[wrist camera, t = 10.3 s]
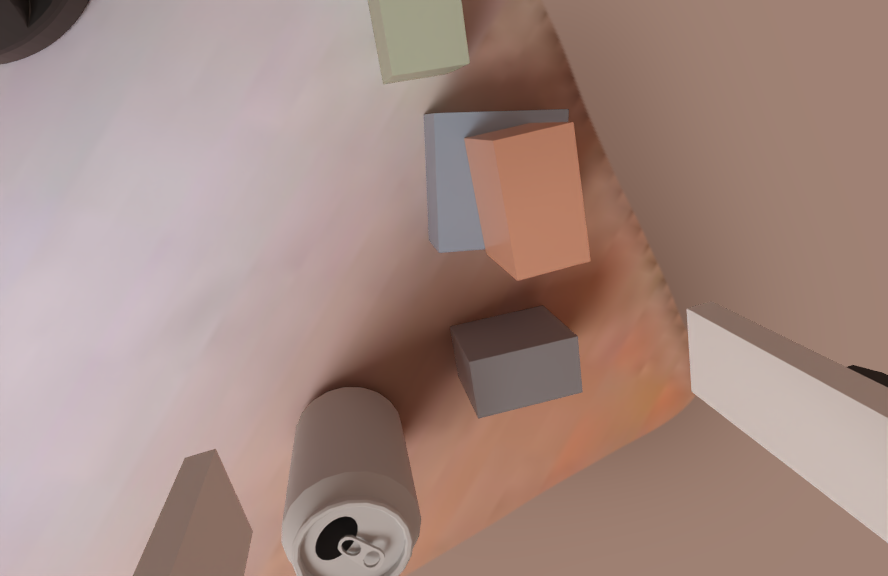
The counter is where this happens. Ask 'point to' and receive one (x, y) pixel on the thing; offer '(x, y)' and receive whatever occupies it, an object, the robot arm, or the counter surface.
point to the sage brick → (418, 38)
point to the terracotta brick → (530, 197)
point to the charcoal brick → (516, 360)
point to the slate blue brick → (462, 171)
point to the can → (350, 489)
